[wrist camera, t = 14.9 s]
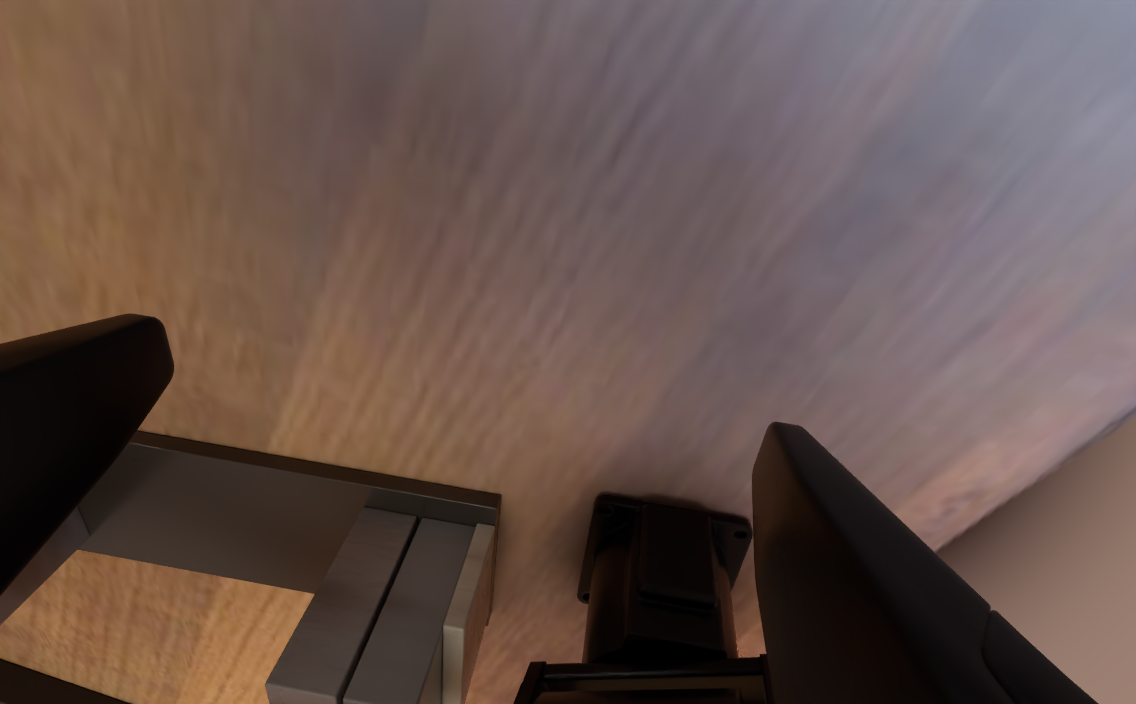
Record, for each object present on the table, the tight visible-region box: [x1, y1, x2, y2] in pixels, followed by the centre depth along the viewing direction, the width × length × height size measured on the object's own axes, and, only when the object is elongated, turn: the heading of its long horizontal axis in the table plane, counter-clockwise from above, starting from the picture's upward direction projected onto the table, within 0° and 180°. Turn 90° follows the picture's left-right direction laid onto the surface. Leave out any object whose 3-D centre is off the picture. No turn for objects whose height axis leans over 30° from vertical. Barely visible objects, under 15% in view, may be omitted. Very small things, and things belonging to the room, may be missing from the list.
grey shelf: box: [0, 431, 501, 704], centre depth 26 cm, size 8×26×9 cm, turn 83°
